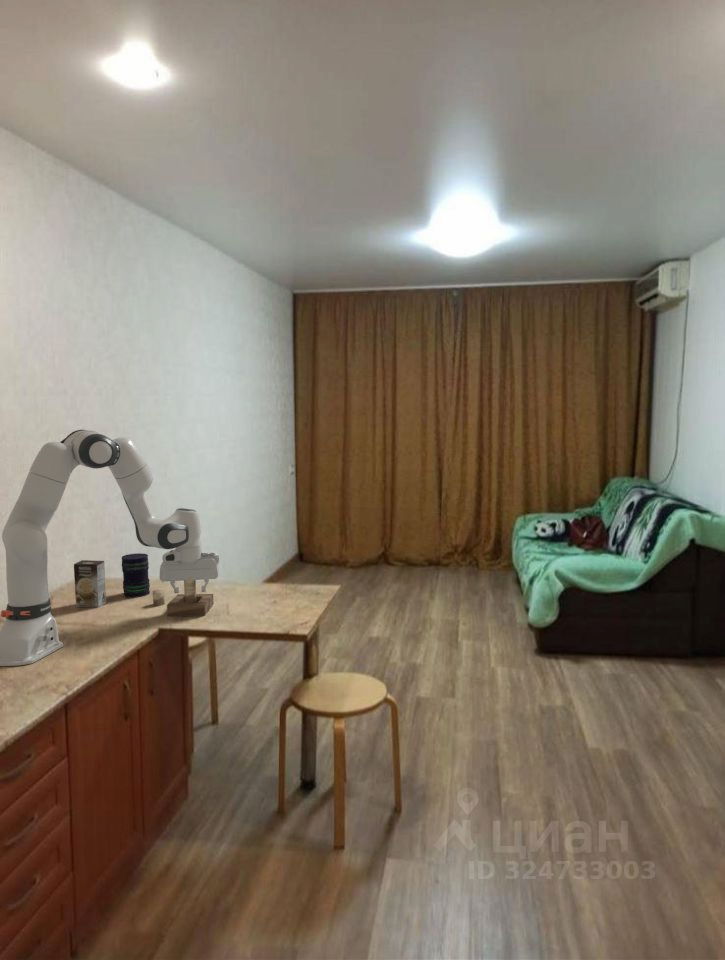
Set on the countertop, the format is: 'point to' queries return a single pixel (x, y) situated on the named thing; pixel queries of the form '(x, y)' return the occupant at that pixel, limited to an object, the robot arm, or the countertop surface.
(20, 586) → the robot arm
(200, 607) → the walnut collar
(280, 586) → the countertop surface
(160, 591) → the short pin
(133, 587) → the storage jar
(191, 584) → the long pin
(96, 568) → the coffee box
